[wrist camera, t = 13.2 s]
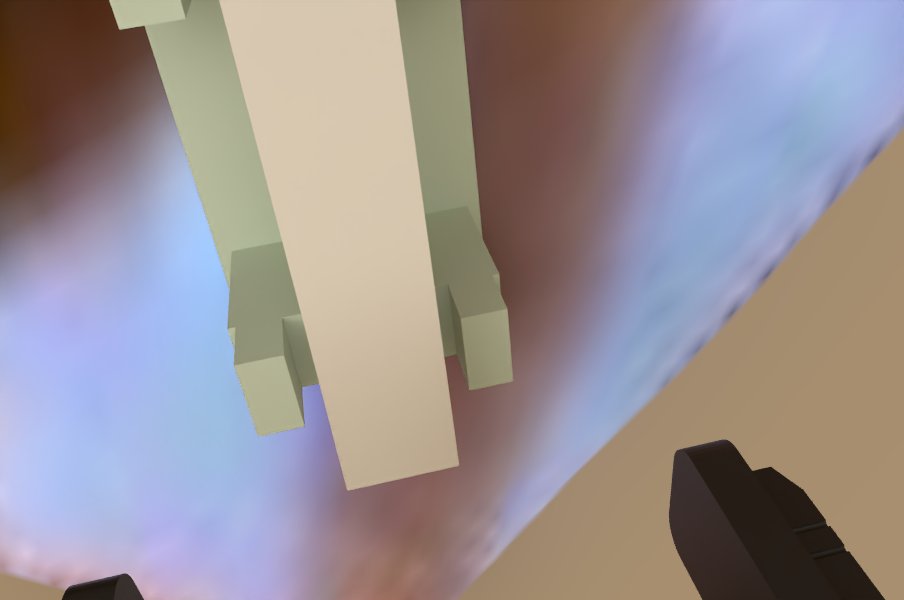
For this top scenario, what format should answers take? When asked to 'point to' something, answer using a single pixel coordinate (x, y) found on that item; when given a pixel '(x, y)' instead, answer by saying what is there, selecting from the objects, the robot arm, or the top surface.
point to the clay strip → (351, 223)
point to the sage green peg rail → (253, 218)
